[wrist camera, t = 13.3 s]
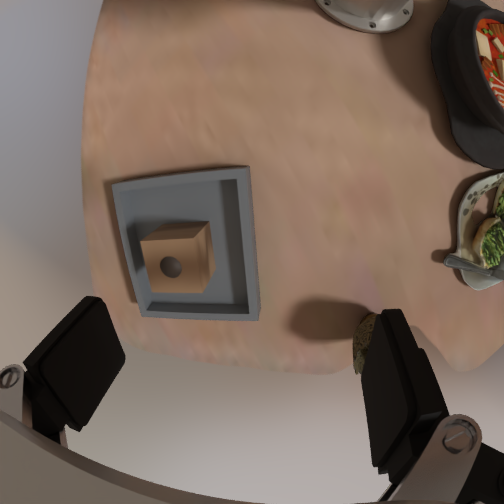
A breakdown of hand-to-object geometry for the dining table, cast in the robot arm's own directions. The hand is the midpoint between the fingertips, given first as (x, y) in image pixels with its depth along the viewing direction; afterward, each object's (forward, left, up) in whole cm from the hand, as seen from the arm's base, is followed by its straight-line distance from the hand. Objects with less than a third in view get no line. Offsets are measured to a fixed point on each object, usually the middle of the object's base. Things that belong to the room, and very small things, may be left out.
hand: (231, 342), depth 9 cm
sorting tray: (+5, -10, -25) cm, 28 cm away
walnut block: (+5, -10, -24) cm, 27 cm away
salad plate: (+4, +33, -26) cm, 42 cm away
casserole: (-17, +29, -25) cm, 42 cm away
